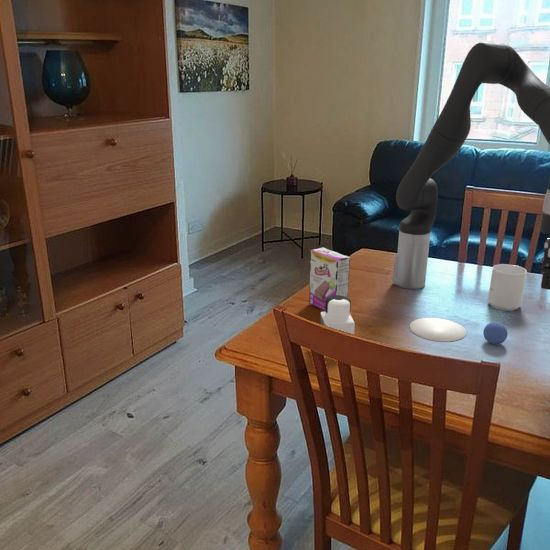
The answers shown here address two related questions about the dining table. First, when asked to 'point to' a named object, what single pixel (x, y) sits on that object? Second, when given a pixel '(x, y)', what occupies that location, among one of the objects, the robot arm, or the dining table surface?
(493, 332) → the ball
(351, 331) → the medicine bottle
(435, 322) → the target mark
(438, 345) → the dining table surface
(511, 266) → the mug
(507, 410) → the dining table surface
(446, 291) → the dining table surface
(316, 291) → the candy bar box
